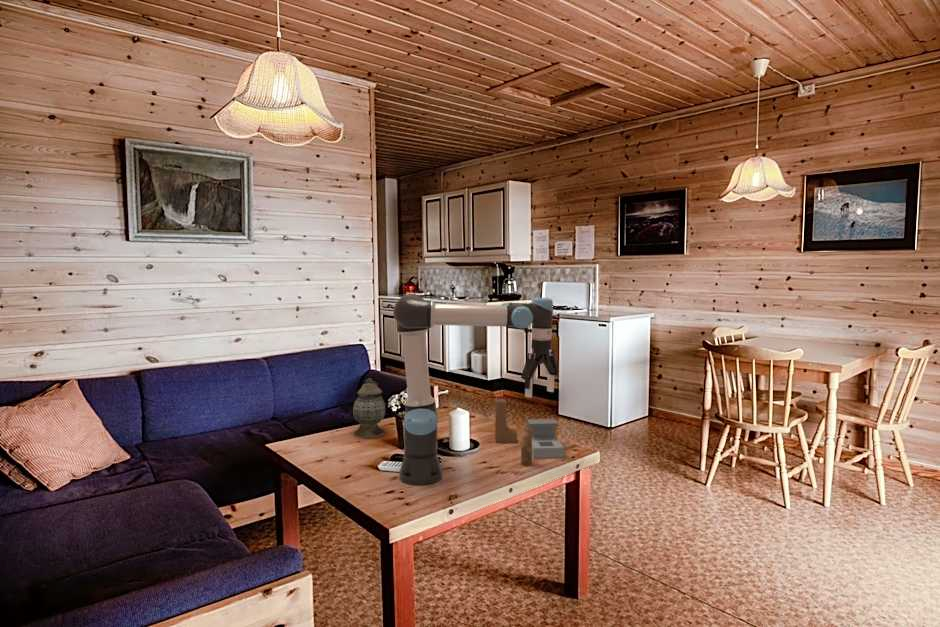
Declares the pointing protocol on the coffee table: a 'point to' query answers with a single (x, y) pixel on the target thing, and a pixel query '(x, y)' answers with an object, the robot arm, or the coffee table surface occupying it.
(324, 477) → the coffee table surface
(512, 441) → the wooden block
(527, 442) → the dowel
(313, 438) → the coffee table surface
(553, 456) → the socket block
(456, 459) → the coffee table surface
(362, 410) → the lantern
